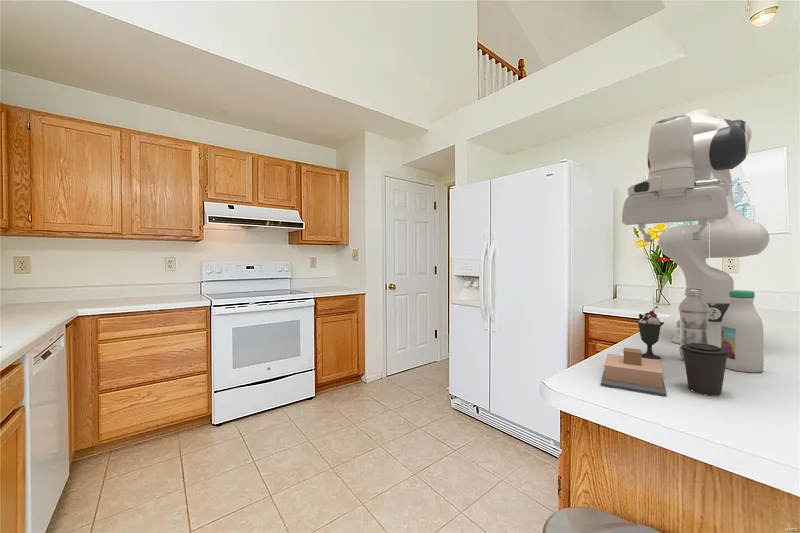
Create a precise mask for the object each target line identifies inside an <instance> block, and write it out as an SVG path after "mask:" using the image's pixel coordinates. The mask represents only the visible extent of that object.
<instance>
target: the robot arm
mask: <svg viewBox="0 0 800 533" xmlns="http://www.w3.org/2000/svg"><path fill="white" fill-rule="evenodd" d="M648 138H649V139H648V150H647V169H648V170H649V171H648V179H645V180H642V181H640V182H637V183H634V184H631V185H629V186H628V189H627V195H628V196H627V198H625V200H624V203H623V207H622V213H621V223H622V224H624V225H625V226H633V225H634V226H635V225H636V226H637V225H638V230H639V232H640V233H641V234H642V235H643V243H648V242H649V243H651V242H652V234H647V233H646V231H645V230H644V229H646V225H652V224H665V223H680V222H681V223H683V222H696V221H697V223H694V224H693V223H692V224H681V225H677V226H672V227H669V228H665V229H664V230H663V231H662V232H661V234H660V236H659V237H658V241H657V245H658V248H659V250H660V252H661V253H662V254H663V255H664V256H665V257H667V258H669V259H671V260H672V261H673V262H674V263H675V264H677V266H678V267H679V268H680V269H681V271H682V273H683V275H684V278H685V286H686V288H685V289H687V288H695V289H703V296H702V298H703V300H704V301H705V302H706V303H707V304H708V306H709V308H710V312H709V318H708V328H707V336H708V344H709V345H714V346H717V347H719V348H721V323H722V318H723V316H724V314H725V312H726V311H727V309H728V307H729V305H730V299H729V298H730V296H729V291H732V290H735V289H734V278H733V277H732V276H731V275H730V274H729V273H727V272H726V271H723V270H722V269H718V268H715V267H712V266H711V265H709V264H708V263H707V261H706V260H707V259H717V258H718V259H723V258H724V259H725V258H726V259H727V258H728V259H729V258H731V259H733V258H743V257H750V256H757V255H759V254H761V253H762V252H763V251H764V250H765V249H766V248H767V247H768V245H769V242H770V234H769V231H768V230H767V228H766V227H765V226H764V225H762V224H761V223H760V222H758V221H753V220H751V219H749V218H748V217H746V216H744V214H742V213H741V212H739V210H738V209H737V207H736V206H735V202H734V198H733V197H734V196H733V182H732V181H733V180H732V176H731V170H733V169H735V168H736V167H738V166H739V165H740V164H741V163H743V162H744V161H745V160H746V158H747V156H748V153H749V149H750V142H751V140H752V130H751V127H750V126H749V124H748V123H746V121H745V120H742V119H736V120H735V119H734V120H731V119H727V118H721V117H720V118H719V117H717V115H716V114H715V112H713V111H712V110H709V109H706V108H698V109H697V108H696V109H694V110H691V111H688V112H686V113H685V114H683V115H682V114H681V115H677V116H672V117H669V118H664V119H661V120H658V121H656V122H655V123H653V124H652V125H651V126H650V131H649V137H648ZM676 328H678V329H677V333H676V334H675V335H674V336H673V337H672V340H671V342H672V343H675V344H680V343H681V335H682V326H681V318H680V317H679V319H678V320H677V321H676Z"/></svg>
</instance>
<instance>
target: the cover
mask: <svg viewBox="0 0 800 533" xmlns="http://www.w3.org/2000/svg"><path fill="white" fill-rule="evenodd" d="M606 354H607V355H606V358H605V362H604V366H603V367H604V369H603V373H604V378H605V379H608V380H614V381H621V382H627V383H633V384H640V385H646V386H653V387H659V388H663V379H664V374H663V369H662V363H661V360H660V359H647V358H643V357H641V354H642V349H639V348H630V347H624V348H623V355H620V354H612V353H606Z"/></svg>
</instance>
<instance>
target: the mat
mask: <svg viewBox="0 0 800 533" xmlns="http://www.w3.org/2000/svg"><path fill="white" fill-rule="evenodd" d="M600 386H601V387H605V388H612V389H619V390H625V391H631V392H636V393H642V394H648V395H653V396H660V397H667V390H666V386H665V381H664V378H663V388H659V387H653V386H646V385H640V384H633V383H627V382H621V381H614V380H608V379H605V378H604V372H603V374H602V378H601V382H600Z"/></svg>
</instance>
